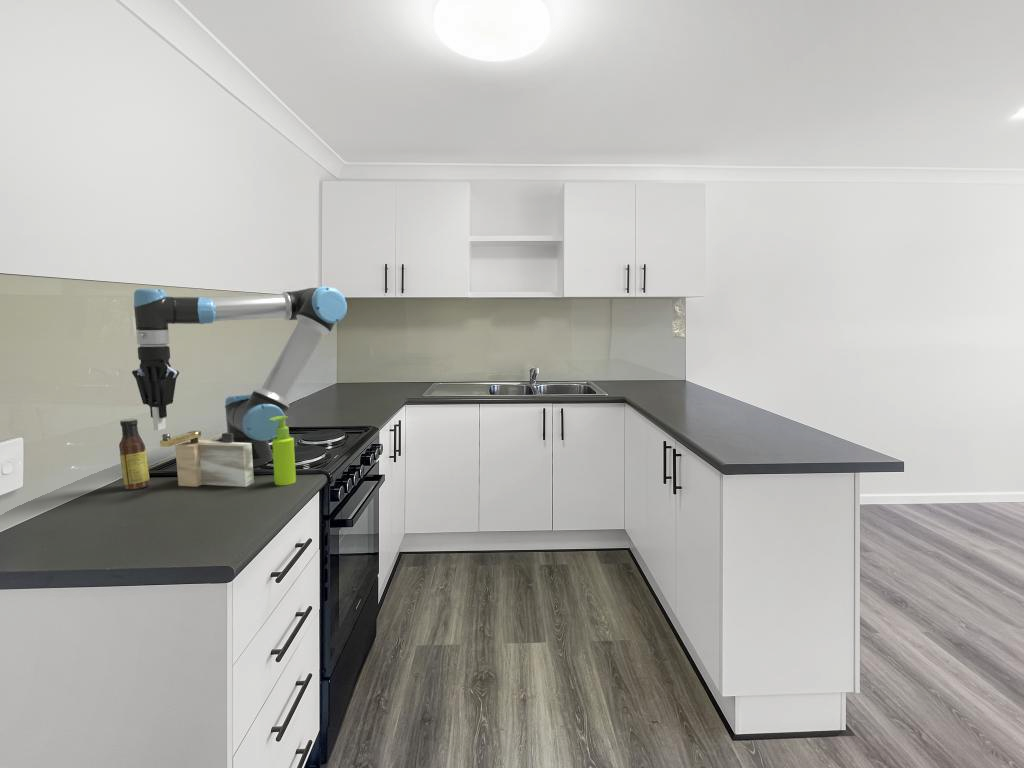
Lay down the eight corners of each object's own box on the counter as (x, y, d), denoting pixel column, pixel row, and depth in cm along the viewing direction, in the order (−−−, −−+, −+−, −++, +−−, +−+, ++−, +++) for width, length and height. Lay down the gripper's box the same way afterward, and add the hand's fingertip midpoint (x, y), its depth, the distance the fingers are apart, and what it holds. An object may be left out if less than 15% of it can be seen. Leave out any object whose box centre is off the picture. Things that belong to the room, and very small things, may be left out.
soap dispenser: (267, 484, 164) (263, 417, 161) (286, 478, 170) (283, 413, 167) (281, 487, 161) (277, 419, 158) (300, 481, 167) (296, 415, 165)
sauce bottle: (155, 484, 164) (149, 417, 162) (139, 491, 158) (132, 422, 156) (134, 483, 165) (128, 417, 163) (117, 490, 159) (110, 421, 156)
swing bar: (192, 435, 167) (192, 425, 166) (202, 436, 166) (201, 425, 166) (159, 446, 154) (158, 434, 153) (169, 446, 153) (168, 435, 153)
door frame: (197, 477, 171) (194, 430, 169) (258, 480, 168) (255, 432, 166) (178, 485, 163) (174, 436, 161) (241, 488, 160) (238, 438, 158)
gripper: (121, 346, 152) (128, 431, 155) (164, 346, 150) (170, 432, 153) (143, 344, 160) (149, 425, 163) (184, 345, 158) (190, 427, 161)
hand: (159, 429), depth 158 cm, fingers closed
